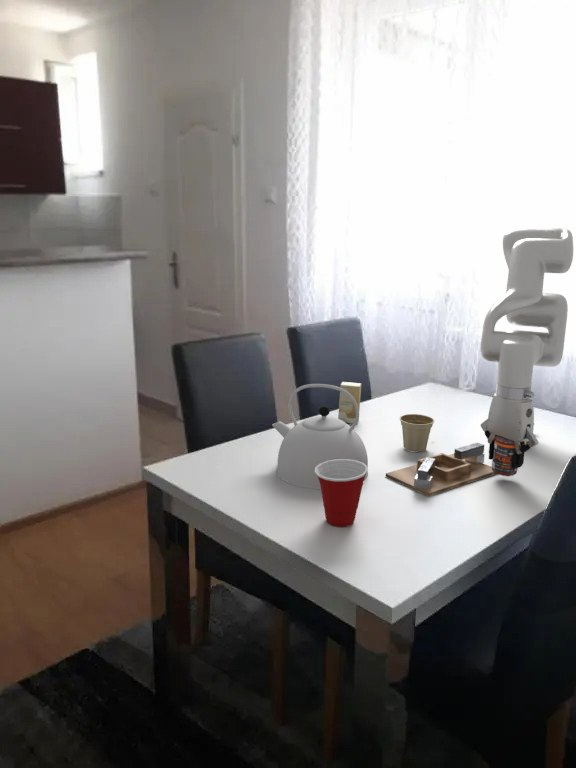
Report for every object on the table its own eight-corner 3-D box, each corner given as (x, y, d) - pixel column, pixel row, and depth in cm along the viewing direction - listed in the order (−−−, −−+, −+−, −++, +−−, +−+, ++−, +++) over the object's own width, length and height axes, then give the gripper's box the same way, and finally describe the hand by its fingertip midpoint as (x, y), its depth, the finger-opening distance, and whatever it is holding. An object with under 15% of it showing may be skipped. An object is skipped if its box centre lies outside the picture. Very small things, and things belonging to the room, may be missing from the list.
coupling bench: (455, 455, 168) (456, 444, 167) (499, 472, 157) (500, 460, 156) (385, 476, 153) (386, 463, 153) (428, 496, 142) (429, 483, 142)
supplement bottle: (490, 474, 151) (494, 430, 147) (492, 465, 156) (496, 422, 153) (516, 478, 148) (521, 434, 145) (517, 469, 154) (522, 426, 151)
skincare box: (337, 422, 195) (339, 384, 192) (339, 418, 199) (341, 381, 196) (358, 424, 194) (360, 386, 191) (359, 420, 198) (361, 382, 195)
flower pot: (432, 456, 168) (435, 425, 166) (397, 453, 170) (399, 422, 167) (431, 444, 177) (434, 415, 175) (398, 441, 178) (400, 412, 176)
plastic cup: (310, 510, 134) (311, 457, 132) (359, 509, 135) (362, 457, 132) (316, 534, 124) (318, 477, 121) (370, 532, 125) (373, 476, 122)
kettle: (254, 479, 150) (254, 389, 145) (287, 449, 171) (288, 369, 165) (354, 496, 142) (359, 401, 136) (376, 462, 163) (381, 378, 157)
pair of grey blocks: (473, 458, 164) (475, 441, 163) (499, 467, 158) (500, 450, 157) (398, 481, 149) (400, 463, 148) (423, 492, 142) (425, 473, 141)
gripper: (555, 398, 142) (546, 471, 147) (492, 380, 155) (485, 448, 160) (536, 404, 138) (527, 478, 143) (472, 385, 151) (466, 454, 156)
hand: (505, 462), depth 151 cm, fingers closed on supplement bottle, 6 cm apart
